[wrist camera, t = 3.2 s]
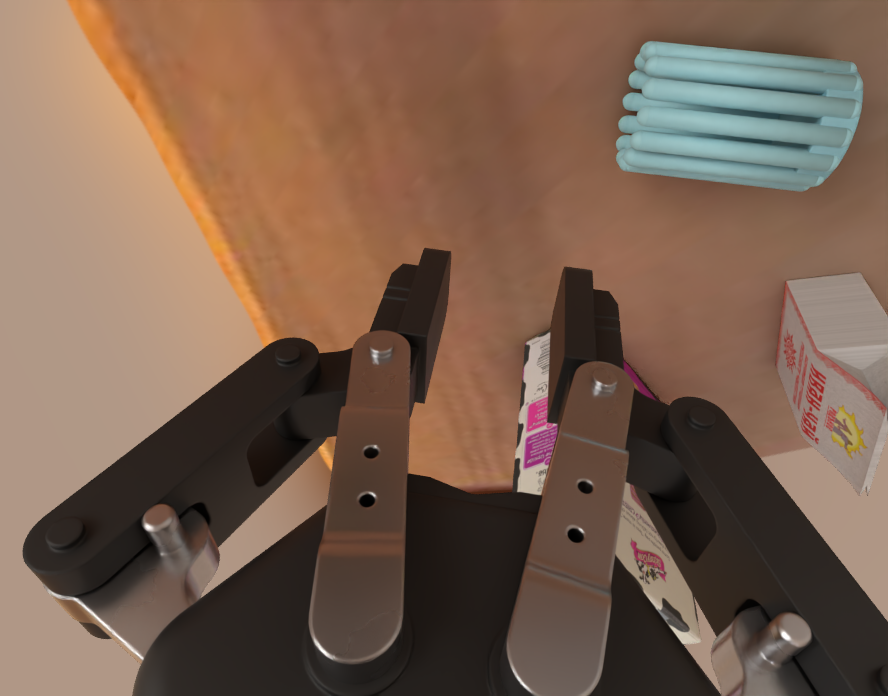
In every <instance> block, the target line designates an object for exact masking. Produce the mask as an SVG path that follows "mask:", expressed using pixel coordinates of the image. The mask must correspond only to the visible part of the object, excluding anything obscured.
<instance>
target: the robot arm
mask: <svg viewBox="0 0 888 696" xmlns="http://www.w3.org/2000/svg"><path fill="white" fill-rule="evenodd" d="M450 267H451V251H444V250H437V249H429V248H424V250H423V253H422V256H421V259H420V262H419V265H411V264H402V265H401V266H400V267H399V268H398V269H396V270H395V271H394V272H393V273H392V274H391V277H390V279H389V282H388V284H387V288H386V290H385V292H384V295H383V298H382V300H381V303H380V305H379V308H378V311H377V313H376V316H375V318H374V321H373V324H372V326H371V329H370V332H369V333H367V334H364V335H363V336H361V337H360V338H359V339H358V340H357V341H356V342H355V344H354V346H353V348H351V349H348V350H344V351H339V352H329V353H319V352H318V349H317V348H316V346H315V345H314V344H313V343H311V342H310V341H307V340H305V339H301V338H284V339H280V340H277V341H275V342H273V343H271V344H269V345H268V346H266V347H265V348H264V349H262V350H261V351H260V352H259V353H257V354H256V355H255V356H253V357H252V358H251V359H249V360H248V361H247V362H245V363H244V364H243V365H241V366H240V367H239V368H238V369H236V370H235V371H234V372H233V373H231V374H230V375H228V376H227V377H226V378H224V379H223V380H222V381H221V382H219V383H218V384H217V385H215V386H214V387H213V388H211V389H210V390H209V391H208V392H206V393H205V394H204V395H202V396H201V397H200V398H198V399H197V400H196V401H195V402H193V403H192V404H191V405H189V406H188V407H187V408H186V409H184V410H183V411H182V412H180V413H179V414H177V415H176V416H175V417H174V418H172V419H171V420H170V421H168V422H167V423H166V424H164V425H163V426H162V427H160V428H159V429H158V430H157V431H155V432H154V433H153V434H151V435H150V436H149V437H148V438H146V439H145V440H144V441H142V442H141V443H140V444H138V445H137V446H136V447H134V448H133V449H132V450H131V451H129V452H128V453H127V454H125V455H124V456H123V457H121V458H120V459H119V460H117V461H116V462H115V463H114V464H112V465H111V466H110V467H108V468H107V469H106V470H105V471H103V472H102V473H100V474H99V475H98V476H97V477H95V478H94V479H93V480H91V481H90V482H89V483H88V484H86V485H85V486H83V487H82V488H81V489H80V490H78V491H77V492H76V493H74V494H73V495H72V496H70V497H69V498H68V499H66V500H65V501H64V502H63V503H61V504H60V505H59V506H57V507H56V508H55V509H54V510H52V511H51V512H50V513H48V514H47V515H46V516H44V517H43V518H42V519H41V520H40V521H39V522H38V523H37V524H36V525H35V526H34V527H33V528H32V530H31V531H30V532H29V534H28V536H27V538H26V540H25V542H24V546H23V558H24V562H25V563H26V564H27V566H28V567H29V568H30V569H31V570H32V571H33V573H34V574H35V575H36V576H37V577H38V578H39V579H40V580H41V581H42V583H43V585H44V588H45V589H46V591H47V592H48V593H49V594H50V595H51V596H52V597H53V598H54V599H55V600H56V601H57V602H58V603H59V605H61V607H62V608H63V609H64V610H65V611H66V612H67V613H68V614H69V615H70V616H71V617H72V618H73V619H75V620H77V621H79V622H80V623H81V624H82V625H83V627H84V628H85V629H86V630H87V631H88V632H89V633H90V634H92V635H93V636H95V637H98V638H101V639H113V640H114V641H115V642H117V643H118V644H119V645H120V646H121V647H122V648H123V649H124V650H125V651H126V652H127V653H129V654H130V655H131V656H132V657H133V658H134V659H135V660H136V661H137V662H139V663H140V664H141V666H140V668H139V671H138V674H137V677H136V681H135V684H134V689H133V695H132V696H888V622H887V620H886V619H885V618H884V616H883V615H882V614H881V612H880V611H879V610H878V609H877V607H876V606H875V605H874V604H873V602H872V601H871V600H870V598H869V597H868V596H867V594H866V593H865V592H864V591H863V590H862V588H861V587H860V586H859V584H858V583H857V582H856V580H855V579H854V578H853V577H852V575H851V574H850V573H849V571H848V570H847V569H846V568H845V566H844V565H843V564H842V563H841V561H840V560H839V559H838V557H837V556H836V555H835V553H834V552H833V551H832V550H831V548H830V547H829V546H828V544H827V543H826V542H825V541H824V539H823V538H822V537H821V535H820V534H819V533H818V532H817V530H816V529H815V528H814V526H813V525H812V524H811V523H810V521H809V520H808V519H807V517H806V516H805V515H804V514H803V512H802V511H801V510H800V508H799V507H798V506H797V505H796V503H795V502H794V501H793V499H791V497H790V496H789V494H788V493H787V492H786V491H785V489H784V488H783V487H782V485H781V484H780V483H779V482H778V480H777V479H776V478H775V476H774V475H773V474H772V472H771V471H770V470H769V469H768V467H767V466H766V465H765V464H764V462H763V461H762V460H761V458H760V457H759V456H758V455H757V453H756V452H755V451H754V449H753V448H752V447H751V446H750V444H749V443H748V442H747V440H746V439H745V438H744V437H743V435H742V434H741V433H740V431H739V430H738V429H737V428H736V426H735V425H734V424H733V422H732V421H731V420H730V419H729V417H728V416H727V415H726V414H725V413H724V411H722V410H721V409H720V408H719V407H718V406H716V405H715V404H713V403H711V402H709V401H707V400H704V399H701V398H696V397H682V398H678V399H676V400H674V401H673V402H672V403H671V404H670V406H669V405H667V404H664V403H662V402H659V401H657V400H654V399H652V398H650V397H647V396H646V395H644V394H642V393H641V392H639V391H638V390H637V389H635V388H634V384H633V381H632V379H631V378H630V376H629V375H628V374H627V373H626V372H625V371H624V362H623V351H622V341H621V332H620V321H619V310H618V304H617V302H616V301H615V300H614V298H613V297H612V295H611V294H610V292H609V291H602V290H595V289H593V274H592V270H587V269H579V268H572V267H564V269H563V272H562V276H561V280H560V285H559V289H558V293H557V298H556V302H555V306H554V311H553V316H552V322H551V330H550V352H549V379H548V406H547V423H553V424H557V436H556V440H555V443H554V447H553V450H552V454H551V458H550V462H549V465H548V469H547V473H546V477H545V481H544V484H543V488H542V492H541V495H537V494H531V493H524V492H508V493H492V494H470V493H467V492H465V491H463V490H460V489H458V488H455V487H453V486H450V485H448V484H445V483H443V482H441V481H438V480H436V479H433V478H431V477H426V476H420V475H414V474H408V461H409V419H410V417H411V414H412V410H413V407H414V403H415V402H418V403H425V399H426V395H427V391H428V387H429V383H430V379H431V375H432V371H433V366H434V362H435V358H436V354H437V350H438V346H439V342H440V338H441V334H442V329H443V325H444V321H445V317H446V311H447V305H448V295H449V281H450ZM332 436H337V438H336V445H335V452H334V459H333V467H332V474H331V482H330V488H329V496H328V503H327V505H326V506H325V507H323V508H322V509H321V510H319V511H318V512H316V513H315V514H314V515H312V516H311V517H310V518H309V519H307V520H306V521H304V522H303V523H302V524H300V525H299V526H298V527H296V528H295V529H294V530H292V531H291V532H290V533H288V534H287V535H286V536H284V537H283V538H282V539H280V540H279V541H277V542H276V543H275V544H274V545H272V546H271V547H269V548H268V549H267V550H265V551H264V552H263V553H261V554H260V555H259V556H257V557H256V558H254V559H253V560H252V561H250V562H249V563H248V564H246V565H245V566H244V567H242V568H241V569H240V570H238V571H237V572H236V573H234V574H233V575H232V576H230V577H229V578H228V579H226V580H225V581H223V582H222V583H221V584H220V585H218V586H217V587H215V588H214V589H213V590H211V591H210V592H209V593H208V594H206V595H205V596H203V597H202V598H201V599H200V597H201V594H202V592H203V591H204V589H205V587H206V586H207V585H208V583H209V582H210V581H211V579H212V578H213V576H214V575H215V573H216V571H217V569H218V566H219V561H220V554H219V550H218V547H219V546H220V545H221V544H222V543H223V542H224V541H225V540H226V539H227V538H228V537H229V536H230V535H231V534H232V533H233V532H234V531H235V530H236V529H237V528H238V527H239V526H240V525H241V524H242V523H243V522H244V521H245V520H246V519H247V518H248V517H249V516H250V515H251V514H252V513H253V512H254V511H255V510H256V509H257V508H258V507H259V506H260V505H261V504H262V503H263V502H264V501H265V500H266V499H267V498H269V497H270V495H272V493H274V492H275V491H276V489H277V488H279V487H280V486H281V485H282V483H283V482H284V481H286V480H287V479H288V478H289V477H290V476H291V475H292V474H293V473H294V472H295V471H296V470H297V469H298V468H299V467H300V466H301V465H302V464H303V463H304V462H305V461H306V460H307V459H308V458H309V457H310V456H311V455H312V454H313V453H314V452H315V451H316V450H317V449H318V448H319V447H320V446H321V445H322V444H323V443H324V441H325V440H326V438H327V437H332ZM625 482H627V483H629V484H631V485H633V486H634V489H635V492H636V494H637V496H638V498H639V500H640V502H641V504H642V505H643V507H644V509H645V511H646V512H647V514H648V516H649V518H650V520H651V521H652V523H653V525H654V527H655V528H656V530H657V532H658V534H659V535H660V537H661V539H662V541H663V543H664V544H665V546H666V548H667V550H668V551H669V553H670V555H671V557H672V558H673V560H674V562H675V564H676V566H677V567H678V569H679V571H680V573H681V574H682V576H683V578H684V580H685V582H686V583H687V585H688V587H689V589H690V590H691V592H692V594H693V596H694V597H695V599H696V601H697V603H698V604H699V606H700V608H701V610H702V612H703V613H704V615H705V617H706V619H707V620H708V622H709V624H710V625H711V628H712V629H713V631H714V632H715V635H716V636H717V638H716V639H715V641H714V642H713V645H712V648H711V661H712V665H713V669H714V671H715V674H716V676H717V680H718V683H719V686H720V689H721V694H720V693H719V691H718V690H717V689H716V687H715V686H714V685H713V683H712V682H711V681H710V680H709V678H708V677H707V676H706V675H705V673H704V672H703V670H702V669H701V668H700V666H699V665H698V664H697V663H696V661H695V660H694V658H693V657H692V656H691V654H690V653H689V652H688V650H687V649H686V648H685V646H684V645H683V644H682V642H681V641H680V640H679V638H678V637H677V636H676V634H675V633H674V632H673V630H672V629H671V628H670V626H669V625H668V624H667V622H666V621H665V620H664V618H663V617H662V616H661V614H660V613H659V612H658V610H657V609H656V608H655V606H654V605H653V604H652V602H651V601H650V600H649V598H648V597H647V596H646V594H645V593H644V592H643V590H642V589H641V588H640V586H639V585H638V584H637V582H636V581H635V580H634V578H633V577H632V576H631V574H630V573H629V572H628V570H627V569H626V568H625V566H624V565H623V564H622V562H621V561H620V560H619V558H618V557H617V556H616V554H615V552H616V545H617V538H618V531H619V524H620V517H621V510H622V503H623V496H624V489H625Z"/></svg>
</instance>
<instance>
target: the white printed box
mask: <svg viewBox="0 0 888 696" xmlns="http://www.w3.org/2000/svg"><path fill="white" fill-rule="evenodd" d="M776 368H777V370H778V373H779V376H780V379H781V381H782V384H783V387H784V389H785V392H786V395H787V398H788V400H789V403H790V406H791V408H792V411H793V414H794V417H795V419H796V422H797V425H798V428H799V430H800V433H801V436H802V437H803V438H804V439H805V440H806V441H807V442H808V443H809V444H811V445H812V446H813V447H814V448H815V449H816V450H817V451H818V452H819V453H820V454H821V455H823V456H824V457H825V458H826V459H827V460H828V461H829V462H830V463H831V464H832V465H833V466H834V467H835V468H837V470H838V471H839V472H840V473H841V474H842V475H843V476H844V477H845V478H846V479H847V480H848V481H849V483H850V484H851V485H852V486H853V488H854V489H855V491H856V492H857V493H858V495H859V496H860V495H861V494H862V492H863V491H864V489H865V488H866V492H867V496H868V493H869V490H870V487H871V484H872V481H873V478H874V475H875V472H876V469H877V466H878V463H879V459H880V456H881V453H882V450H883V447H884V444H885V441H886V437H887V435H888V316H887V315H886V313H885V311H884V310H883V308H882V307H881V305H880V303H879V302H878V300H877V299H876V297H875V295H874V294H873V292H872V291H871V289H870V287H869V286H868V284H867V282H866V281H865V279H864V278H863V276H862V274H861V273H860V272H859V273H850V274H841V275H833V276H824V277H815V278H806V279H798V280H789V281H786V284H785V292H784V300H783V308H782V316H781V325H780V333H779V341H778V349H777V357H776Z"/></svg>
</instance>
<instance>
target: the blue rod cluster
mask: <svg viewBox="0 0 888 696" xmlns="http://www.w3.org/2000/svg"><path fill="white" fill-rule="evenodd" d="M635 67H636V68H637V69H638V70H635V71H633V72H632V73H631V74H630V76H629V79H628V82H629V85H630V86H631V87H632V88H635V89H642V93H628V94H627V95H626V96H625V97H624V99H623V106H624V108H625V109H627V110H629V111H638V113H637V116H630V115H627V116H624V117H622V118H621V119H620V121H619V124H618V127H619V129H620V131H622V132H623V133H630V134H632V136H630V135H623V136H621V137H619V138H618V140H617V142H616V147H617V149H618V150H619V152H618V153H617V155H616V161H617V163H618V164H619V167H620V168H621V169H622V170H624V171H629V172H637V173H646V174H654V175H663V176H671V177H680V178H689V179H697V180H706V181H714V182H723V183H731V184H740V185H748V186H757V187H765V188H774V189H782V190H791V191H805V190H807V189H809V188H810V187H816V186H819V185H820V184H822V183H823V181H824V180H825V179H826V178H827V177H828V176H829V175H830V174H831V173H832V172H833V171H834V170H835V168H836V167H837V166H838V165H839V163H840V161H841V160H842V158H843V157H844V155H845V153H846V151H847V149H848V147H849V145H850V143H851V141H852V139H853V136H854V133H855V131H856V128H857V125H858V121H859V118H860V113H861V109H862V101H863V81H862V79H861V76H860V74H859V73H858V71H857V67H856V65H855V64H854V63H853V62H850V61H841V60H836V59H826V58H816V57H806V56H796V55H786V54H776V53H766V52H756V51H746V50H736V49H726V48H716V47H706V46H696V45H686V44H676V43H666V42H656V41H649V42H646V43H645V44H644V45H643V46H642V47H641V50H640V53H639V54H638V55H637V56H636V58H635Z"/></svg>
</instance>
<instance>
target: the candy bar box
mask: <svg viewBox="0 0 888 696" xmlns="http://www.w3.org/2000/svg"><path fill="white" fill-rule="evenodd" d="M550 330H551V329H550ZM550 330H548V331H546V332H544V333H541V334H539V335H537V336H535V337H534V338H532V339H530V340H528V341H527V342H525V352H524V365H523V377H522V388H521V401H520V412H519V420H518V435H517V447H516V453H515V467H514V476H513V489H512V492H524V493H531V494H537V495H541V492H542V488H543V484H544V481H545V477H546V473H547V469H548V465H549V462H550V458H551V454H552V450H553V447H554V443H555V440H556V436H557V424H553V423H547V406H548V379H549V352H550ZM623 362H624V371H625V372H626V373H627V374H628V375H629V376H630V378H631V379H632V381H633V384H634V388H635V389H637V390H638V391H639V392H641V393H642V394H644V395H646V396H647V397H650V398H652V399H654V400H657V401H659V400H658V399H657V397H656V396H655V395H654V394H653V393H652V392H651V391H650V390H649V388H648V387H647V386H646V385H645V384H644V383H643V382H642V380H641V379H640V378H639V377H638V376H637V375H636V374H635V372H634V371H633V370H632V369H631V368H630V367H629V366H628V364H627V363H626V362H625V361H624V360H623ZM659 402H660V401H659ZM615 554H616V556H617V557H618V558H619V560H620V561H621V562H622V564H623V565H624V566H625V568H626V569H627V570H628V572H629V573H630V574H631V576H632V577H633V578H634V580H635V581H636V582H637V584H638V585H639V586H640V588H641V589H642V590H643V592H644V593H645V594H646V596H647V597H648V598H649V600H650V601H651V602H652V604H653V605H654V606H655V608H656V609H657V610H658V612H659V613H660V614H661V616H662V617H663V618H664V620H665V621H666V622H667V624H668V625H669V626H670V628H671V629H672V630H673V632H674V633H675V634H676V636H677V637H678V638H679V640H680V641H681V642H682V644H683V645H686V644H692V643H699V642H701V636H700V631H699V625H698V618H697V613H696V606H695V601H694V596H693V594H692V592H691V590H690V589H689V587H688V585H687V583H686V582H685V580H684V578H683V576H682V574H681V573H680V571H679V569H678V567H677V566H676V564H675V562H674V560H673V558H672V557H671V555H670V553H669V551H668V550H667V548H666V546H665V544H664V543H663V541H662V539H661V537H660V535H659V534H658V532H657V530H656V528H655V527H654V525H653V523H652V521H651V520H650V518H649V516H648V514H647V512H646V511H645V509H644V507H643V505H642V504H641V502H640V500H639V498H638V496H637V494H636V492H635V489H634V486H633V485H631V484H629V483H627V482H625V489H624V496H623V503H622V510H621V517H620V524H619V531H618V538H617V545H616V552H615Z"/></svg>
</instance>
